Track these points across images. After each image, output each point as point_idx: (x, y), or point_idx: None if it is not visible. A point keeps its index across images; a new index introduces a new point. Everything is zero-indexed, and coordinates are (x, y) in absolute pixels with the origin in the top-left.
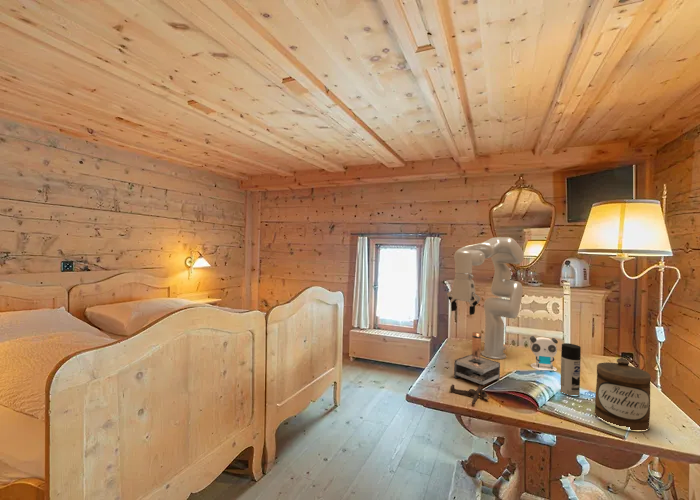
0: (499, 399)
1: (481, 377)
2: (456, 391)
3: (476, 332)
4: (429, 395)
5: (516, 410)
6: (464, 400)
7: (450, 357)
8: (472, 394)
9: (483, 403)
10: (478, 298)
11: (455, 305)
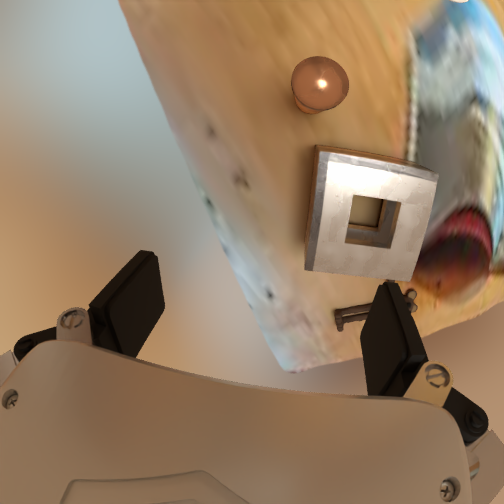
0: (433, 280)
1: (388, 238)
2: (350, 321)
3: (308, 65)
4: (309, 355)
5: (460, 299)
6: None
7: (190, 79)
8: None
9: None
10: (484, 479)
11: (131, 304)
